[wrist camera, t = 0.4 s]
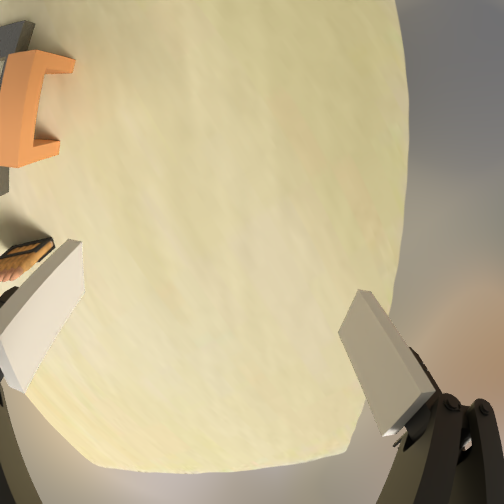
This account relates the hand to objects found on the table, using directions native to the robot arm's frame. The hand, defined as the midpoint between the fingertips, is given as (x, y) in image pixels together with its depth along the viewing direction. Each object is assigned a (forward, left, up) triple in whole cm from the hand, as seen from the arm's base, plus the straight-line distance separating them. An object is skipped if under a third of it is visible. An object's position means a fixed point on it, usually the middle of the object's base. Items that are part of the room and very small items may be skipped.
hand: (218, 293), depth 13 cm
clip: (-6, -27, -27) cm, 39 cm away
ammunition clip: (+17, -30, -27) cm, 44 cm away
